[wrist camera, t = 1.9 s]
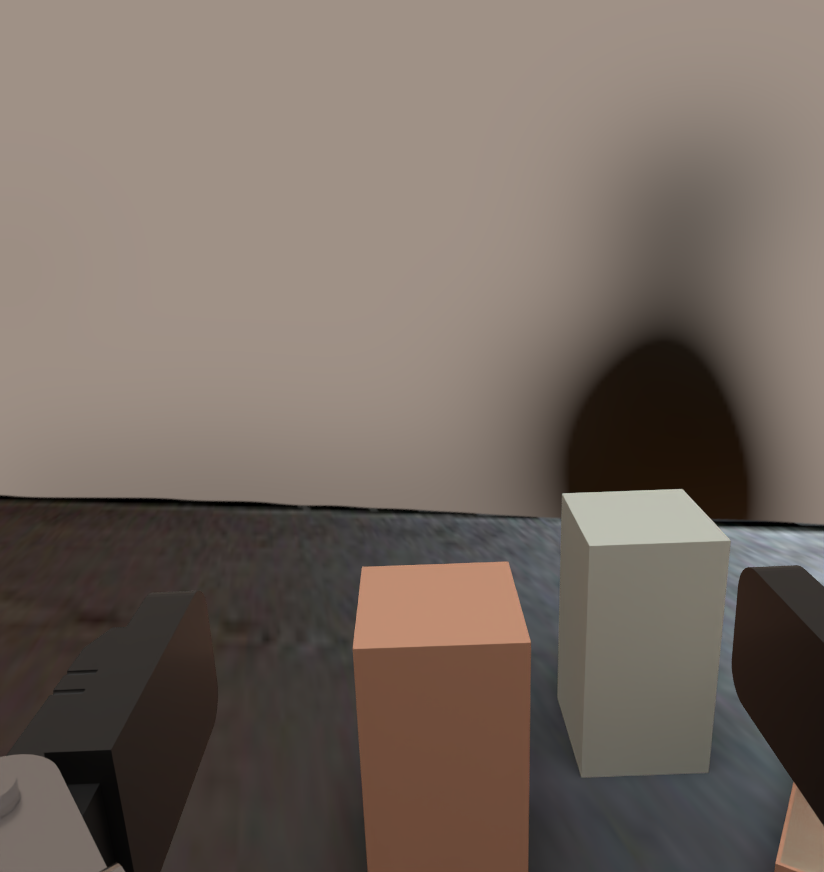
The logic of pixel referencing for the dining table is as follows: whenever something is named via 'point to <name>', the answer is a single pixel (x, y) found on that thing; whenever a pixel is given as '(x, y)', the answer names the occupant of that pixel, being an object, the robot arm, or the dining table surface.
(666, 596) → the sage block
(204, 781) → the dining table surface
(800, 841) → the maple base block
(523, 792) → the terracotta block
